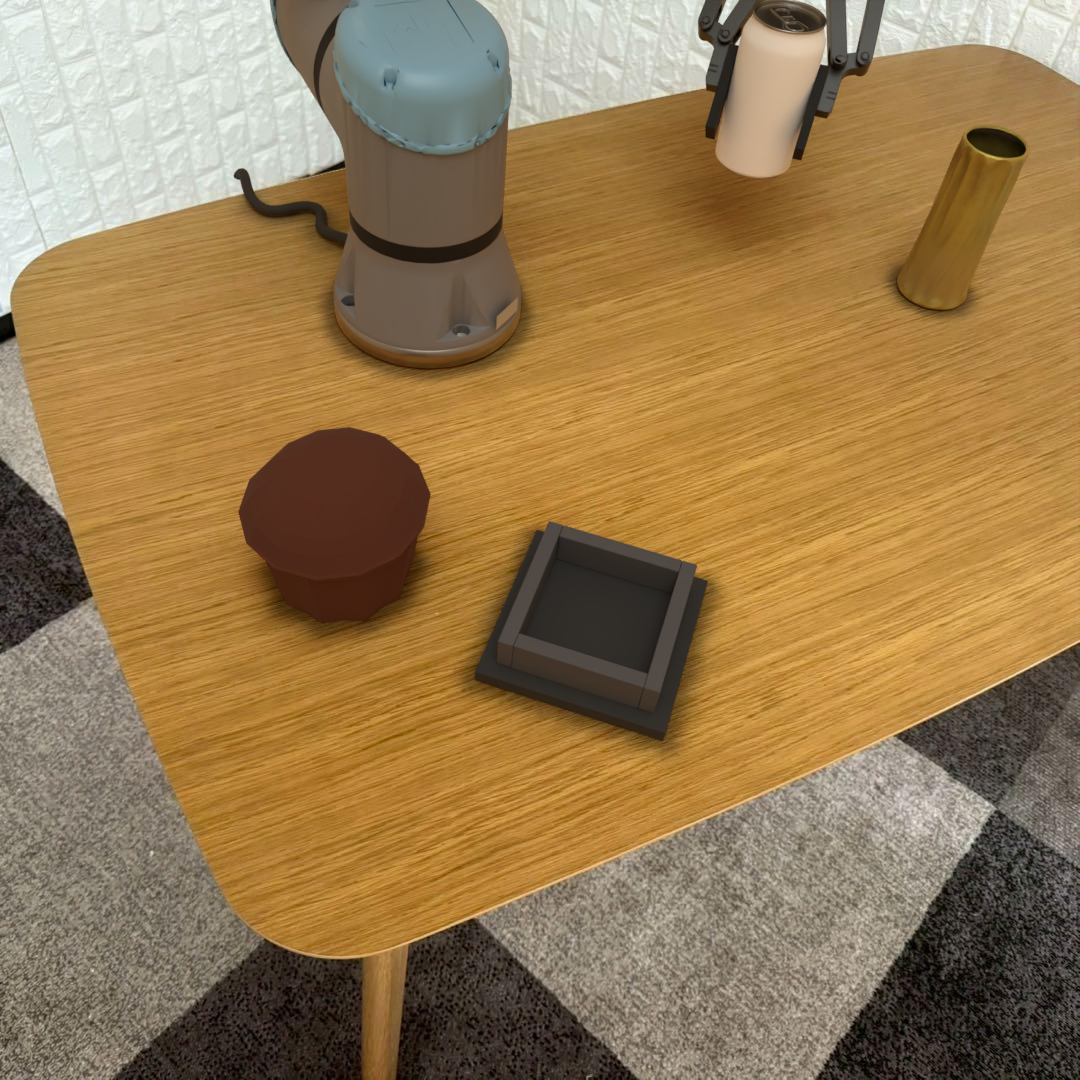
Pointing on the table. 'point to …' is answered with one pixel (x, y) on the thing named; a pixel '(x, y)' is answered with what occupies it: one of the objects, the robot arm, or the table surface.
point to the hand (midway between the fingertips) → (753, 143)
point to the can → (770, 88)
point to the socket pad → (596, 629)
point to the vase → (963, 217)
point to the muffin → (337, 521)
